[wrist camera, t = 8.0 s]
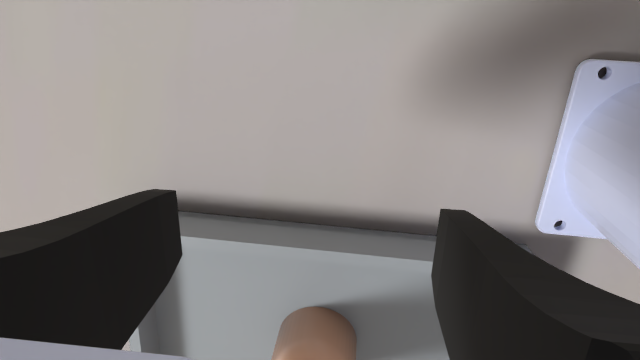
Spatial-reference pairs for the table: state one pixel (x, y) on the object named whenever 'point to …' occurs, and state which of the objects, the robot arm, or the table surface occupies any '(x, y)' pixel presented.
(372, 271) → the tray
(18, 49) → the table surface
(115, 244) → the robot arm
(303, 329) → the shaker
